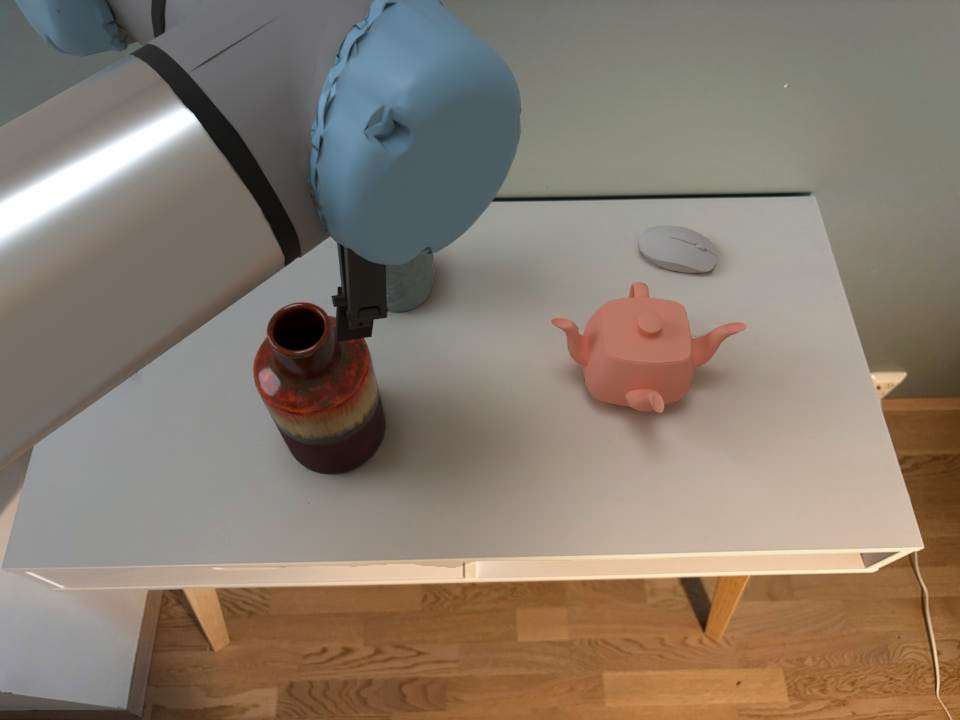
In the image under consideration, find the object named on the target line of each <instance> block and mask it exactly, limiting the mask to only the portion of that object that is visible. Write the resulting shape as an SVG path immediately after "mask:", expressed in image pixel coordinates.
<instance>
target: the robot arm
mask: <svg viewBox="0 0 960 720" xmlns="http://www.w3.org/2000/svg"><path fill="white" fill-rule="evenodd" d="M14 2H15V4H16V5H17V7H18V8H19V10H20V12H21V13H22V14H23V16H24V17H25V18H26V20H27V21H28V23H29V24H30V25H31V27H32V28H33V29H34V31H35V32H36V33H37V34H38V35H39V37H40V38H41V39H42V40H43V41H44V42H45V43H46V44H47V45H48V46H50V47H51V48H52V49H54V50H55V51H57V52H58V53H61V54H65V55H72V56H76V57H77V56H78V57H81V58H83V57H86V56H91V55H96V54H100V53H105V52H109V51H114V52H119V53H121V52H123V51H126V50H127V49H128V47H129V45H133V44H135V43H139V44H140V45H141V46H142V47H140V48H138V49H136V50H134V51H133V52H130V53H129V54H127V55H126V56H124V57H122V58H120V59H119V60H117V61H114V62H113V63H112V64H109V65H108V66H106V67H104V68H102V69H100V70H99V71H97V72H96V73H93V74H92V75H90V76H88V77H86V78H85V79H83V80H81V81H79V82H77V83H76V84H74V85H73V86H70V87H69V88H67V89H66V90H63V91H62V92H60V93H58V94H55V95H54V96H53V97H51V98H49V99H47V100H46V101H44V102H42V103H40V104H39V105H37V106H35V107H33V108H32V109H30V110H28V111H27V112H24V113H23V114H21V115H19V116H18V117H16V118H14V119H12V120H10V121H8V122H6V123H5V124H3V125H2V126H0V470H3V468H5V467H6V466H8V465H9V464H11V463H12V462H13V461H15V460H16V459H17V458H19V457H20V456H22V455H23V454H24V453H26V452H28V451H29V450H30V449H31V448H33V447H34V446H35V445H37V444H39V443H40V442H41V441H44V440H45V439H46V438H47V437H49V435H51V434H52V433H55V432H56V431H57V430H59V429H60V428H62V426H64V425H65V424H67V423H68V422H70V421H71V420H72V419H74V418H76V417H77V416H78V415H80V414H81V413H82V412H83V411H85V410H87V409H88V408H89V407H90V406H92V405H93V404H95V403H96V402H98V401H99V400H100V399H102V398H103V397H104V396H107V395H108V394H109V393H110V392H112V391H113V390H115V389H116V388H117V387H118V386H120V385H122V384H123V383H124V382H126V381H127V380H129V379H130V378H131V377H133V376H134V375H136V374H137V373H139V372H140V371H141V370H142V369H144V368H146V367H147V366H148V365H150V364H151V363H152V362H154V361H156V360H157V359H158V358H159V357H161V356H162V355H164V354H165V353H166V352H168V351H170V350H171V349H172V348H174V347H175V346H176V345H178V344H179V343H181V342H182V341H184V340H185V339H186V338H187V337H189V336H190V335H192V334H193V333H194V332H196V331H197V330H199V329H200V328H202V327H203V326H205V325H206V324H207V323H209V322H210V321H212V320H213V319H215V317H217V316H219V315H220V314H222V313H223V312H224V311H226V310H227V309H229V308H230V307H231V306H232V305H234V304H236V303H237V302H238V301H240V300H241V299H243V298H245V296H247V295H248V294H249V293H251V292H252V291H254V290H255V289H257V288H258V287H259V286H261V285H263V284H264V283H265V282H266V281H268V280H270V279H271V278H272V277H273V276H275V275H276V274H277V273H280V271H282V270H284V269H285V268H287V266H288V265H290V264H292V263H293V262H294V261H296V260H297V259H298V258H302V257H303V256H305V255H307V254H308V253H309V252H311V251H312V250H314V249H315V248H316V247H318V246H319V245H320V244H321V243H323V242H325V241H326V240H327V239H329V238H331V239H332V240H333V241H334V242H335V243H336V246H337V247H336V248H337V256H338V266H339V275H340V284H341V285H340V286H337V290H336V291H337V293H336V294H334V295H331V302H332V306H333V308H336V309H335V310H336V311H335V317H336V327H335V335H336V340H337V342H339V341H346V340H353V339H360V338H364V339H367V338H372V336H373V330H374V329H373V328H374V322H375V320H382V319H387V317H388V313H389V311H388V308H387V296H386V265H389V266H392V265H402V264H406V263H407V262H409V261H411V260H412V259H414V258H415V257H416V256H417V255H419V254H421V255H427V256H429V255H432V254H434V255H435V254H436V253H438V252H440V251H442V250H444V249H445V248H447V247H449V246H450V245H451V244H452V243H454V242H455V241H457V240H458V239H459V238H460V237H461V236H463V235H464V234H465V233H466V232H467V231H468V230H469V229H470V228H471V227H472V226H473V225H474V224H475V223H476V222H477V220H479V218H480V217H481V216H482V215H483V213H484V212H485V211H486V210H487V209H488V208H489V207H490V205H491V204H492V202H493V201H494V199H495V198H496V197H497V194H498V193H499V192H500V190H501V188H502V186H503V185H504V183H505V180H506V179H507V176H508V174H509V173H510V170H511V167H512V165H513V162H514V160H515V157H516V154H517V151H518V146H519V142H520V140H521V139H520V138H521V133H522V127H521V114H522V111H523V109H522V100H521V99H522V98H521V92H520V89H519V85H518V81H517V79H516V77H515V74H514V73H513V71H512V69H511V68H510V66H509V64H507V62H506V61H505V59H504V58H503V56H502V55H500V53H499V52H497V51H496V50H495V49H494V48H493V47H492V46H491V45H489V44H488V43H487V42H486V41H485V40H484V39H482V38H481V37H480V36H479V35H477V34H476V33H475V31H473V30H472V29H471V28H470V27H468V26H467V25H466V24H465V23H464V22H462V21H461V20H460V19H459V18H458V17H457V16H456V15H454V14H453V13H452V12H451V11H450V10H448V9H447V8H446V7H445V6H444V5H443V3H442V1H441V0H14Z"/></svg>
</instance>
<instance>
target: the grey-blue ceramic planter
mask: <svg viewBox="0 0 960 720" xmlns="http://www.w3.org/2000/svg"><path fill="white" fill-rule="evenodd" d="M434 257H435V253H434V254H432V255H429V256H427V255H421V254H419V255H417V256H416V257H415V258H414V259H412V260H411V261H409V262H407V263H406V264H402V265H392V266H389V265H386V296H387V308H388V312H391V313H403V312H407V311H408V312H409V311H410V310H411V311H412V310H413V309H416V308H417V307H419V306H420V305H422V304H423V303H424V302H426V300H427V299H428V297H429V296H430V295H431V292H432V291H433V290H432V289H433V287H434V286H433V285H434V271H435V270H434V266H433V262H434Z"/></svg>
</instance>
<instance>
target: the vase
mask: <svg viewBox="0 0 960 720" xmlns="http://www.w3.org/2000/svg"><path fill="white" fill-rule="evenodd" d="M335 327H336V316H332V315H328V313H327V312H326V311H325V310H324V309H323V308H322V307H321V306H319V305H316V304H314V303H311V302H304V301H300V302H299V301H298V302H293V303H289V304H287V305H285V306H283V307H281V308H279V309H278V310H277V311H276V312H275V313H273V315H272V316H271V317H270V319H269V321H268V323H267V326H266V337H265V339H264V340H263V341H262V342H261V344H260V346H259V348H258V349H257V351H256V354H255V357H254V359H253V366H252V370H253V371H252V372H253V380H254V385H255V387H256V390H257V392H258V394H259V396H260V398H261V400H262V402H263V404H264V406H265V408H266V410H267V411H268V413H269V415H270V417H271V419H272V421H273V423H274V424H275V427H276V428H277V430H278V432H279V434H280V436H281V437H282V439H283V441H284V442H285V444H286V446H287V448H288V450H289V451H290V454H291V455H292V456H293V457H294V459H295V460H296V461H297V462H298V463H299V464H300V465H302V466H303V467H304V468H306V469H308V470H309V471H311V472H315V473H318V474H323V475H340V474H346V473H350V472H352V471H355V470H357V469H358V468H360V467H362V466H363V465H365V464H366V463H368V462H369V461H370V460H371V459H372V458H373V457H374V456H375V455H376V453H377V452H378V451H379V449H380V447H381V446H382V443H383V441H384V438H385V433H386V426H387V425H386V424H387V423H386V416H385V410H384V407H383V402H382V397H381V393H380V389H379V384H378V381H377V375H376V372H375V368H374V364H373V360H372V355H371V352H370V349H369V345H368V343H367V341H366V340H365V339H366V338H360V339H353V340H346V341H339V342H337V340H336V335H335Z"/></svg>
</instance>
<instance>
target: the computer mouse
mask: <svg viewBox="0 0 960 720" xmlns="http://www.w3.org/2000/svg"><path fill="white" fill-rule="evenodd" d="M638 247H639V249H640V251H641V253H642V254H643V256H644V257H645V258H646V259H647V260H649V261H650V262H651V263H653V264H655V265H656V266H658V267H660V268H662V269H665V270H669V271H673V272H677V273H687V274H697V273H708V272H710V271H712V270H713V269H714V267H715V266H716V264H717V259H718V251H717V246H716V245H715V244H714V243H713V242H712V241H711V240H710V239H709V238H707V237H706V236H704V235H703V234H701V233H700V232H697V231H695V230H693V229H691V228H688V227H684V226H679V225H659V226H654V227H653V226H652V227H649V228H646V229H644V230H642V231H641V232H640V233H639V236H638Z"/></svg>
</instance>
